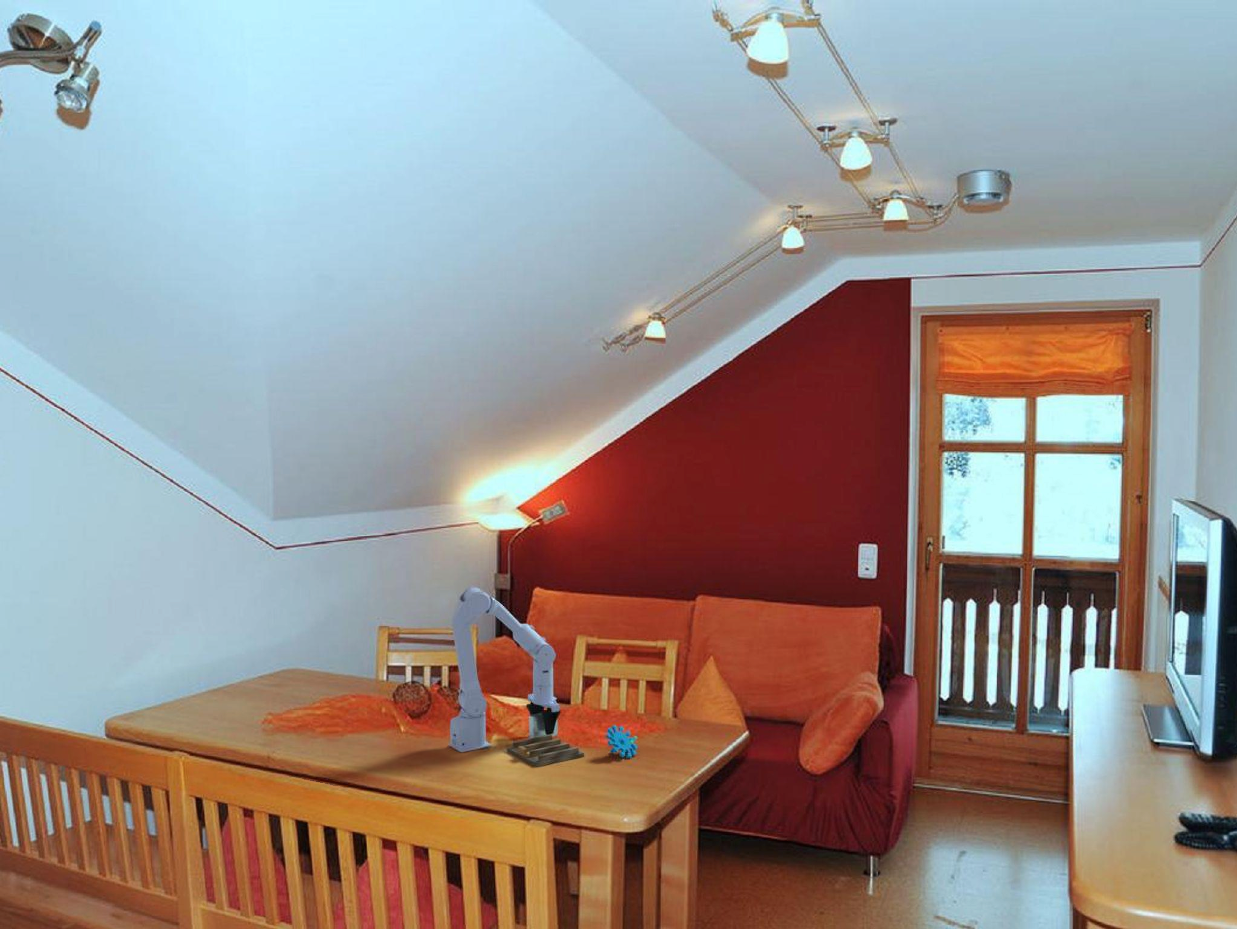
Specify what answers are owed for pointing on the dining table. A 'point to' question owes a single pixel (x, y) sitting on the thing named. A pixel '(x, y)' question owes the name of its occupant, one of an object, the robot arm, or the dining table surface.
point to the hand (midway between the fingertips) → (543, 731)
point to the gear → (621, 741)
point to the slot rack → (544, 750)
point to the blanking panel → (539, 726)
